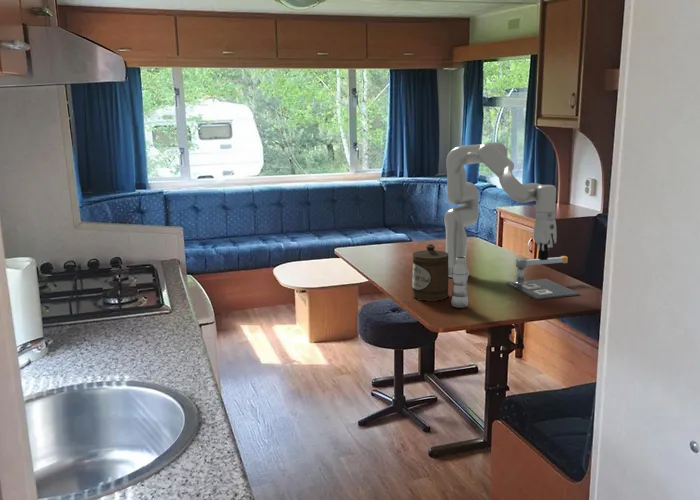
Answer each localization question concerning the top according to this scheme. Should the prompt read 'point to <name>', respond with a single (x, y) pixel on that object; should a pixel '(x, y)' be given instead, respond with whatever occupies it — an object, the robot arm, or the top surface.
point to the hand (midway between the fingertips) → (543, 259)
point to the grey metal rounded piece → (520, 277)
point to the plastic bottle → (459, 283)
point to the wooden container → (430, 274)
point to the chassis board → (544, 284)
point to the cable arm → (540, 261)
